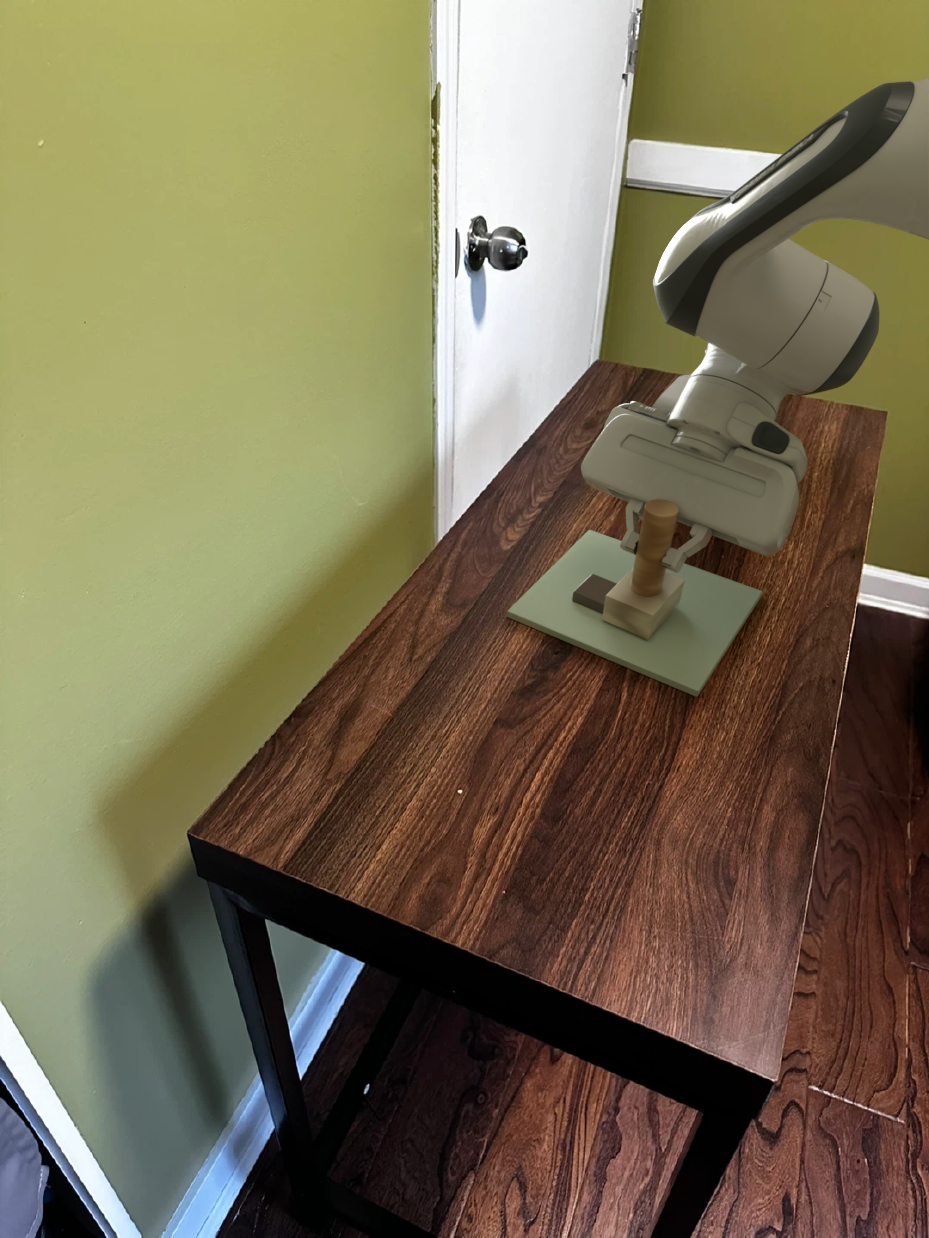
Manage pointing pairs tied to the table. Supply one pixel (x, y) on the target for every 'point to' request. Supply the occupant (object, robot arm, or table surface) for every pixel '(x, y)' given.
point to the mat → (668, 656)
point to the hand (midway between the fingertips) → (648, 560)
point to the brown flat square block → (593, 592)
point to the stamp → (647, 576)
